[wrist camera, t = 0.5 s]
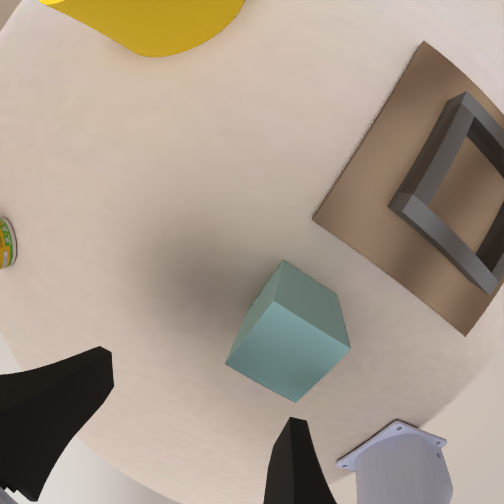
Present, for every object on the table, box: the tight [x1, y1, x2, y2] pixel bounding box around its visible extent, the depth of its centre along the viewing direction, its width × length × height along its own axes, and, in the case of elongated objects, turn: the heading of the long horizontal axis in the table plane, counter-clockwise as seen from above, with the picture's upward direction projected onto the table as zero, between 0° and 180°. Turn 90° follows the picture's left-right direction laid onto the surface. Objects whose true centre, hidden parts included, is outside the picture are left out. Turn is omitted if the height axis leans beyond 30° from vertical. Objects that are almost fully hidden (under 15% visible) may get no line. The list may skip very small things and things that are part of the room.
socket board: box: [312, 41, 504, 337], centre depth 12 cm, size 14×14×4 cm
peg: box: [225, 260, 351, 403], centre depth 14 cm, size 4×4×6 cm
